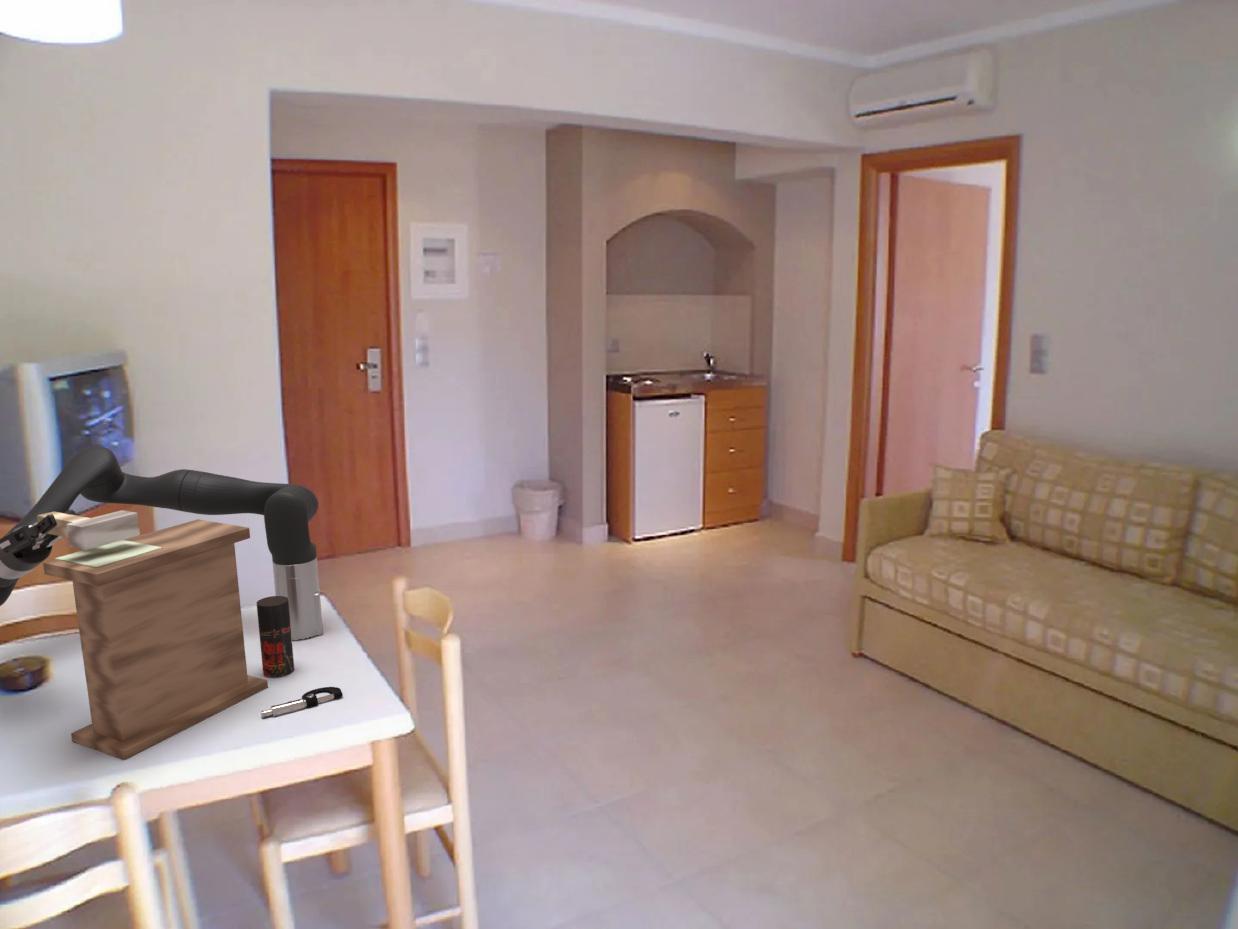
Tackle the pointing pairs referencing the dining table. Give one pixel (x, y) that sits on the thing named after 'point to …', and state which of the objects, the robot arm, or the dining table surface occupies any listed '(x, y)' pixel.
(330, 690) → the micrometer
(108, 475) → the robot arm
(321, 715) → the dining table surface
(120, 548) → the stand
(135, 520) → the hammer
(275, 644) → the deodorant
